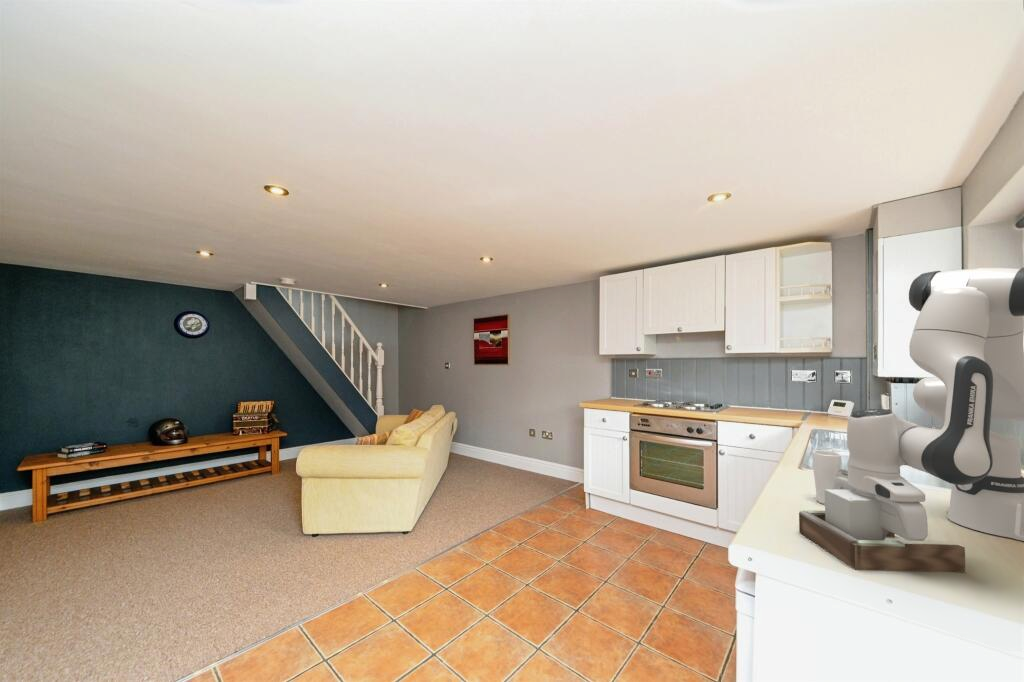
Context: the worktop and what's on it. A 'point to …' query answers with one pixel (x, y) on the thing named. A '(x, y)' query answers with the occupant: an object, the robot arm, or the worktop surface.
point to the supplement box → (853, 514)
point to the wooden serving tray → (880, 549)
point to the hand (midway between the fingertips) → (875, 541)
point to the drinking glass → (825, 471)
